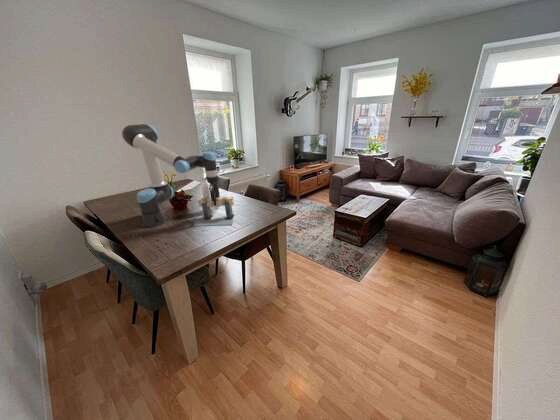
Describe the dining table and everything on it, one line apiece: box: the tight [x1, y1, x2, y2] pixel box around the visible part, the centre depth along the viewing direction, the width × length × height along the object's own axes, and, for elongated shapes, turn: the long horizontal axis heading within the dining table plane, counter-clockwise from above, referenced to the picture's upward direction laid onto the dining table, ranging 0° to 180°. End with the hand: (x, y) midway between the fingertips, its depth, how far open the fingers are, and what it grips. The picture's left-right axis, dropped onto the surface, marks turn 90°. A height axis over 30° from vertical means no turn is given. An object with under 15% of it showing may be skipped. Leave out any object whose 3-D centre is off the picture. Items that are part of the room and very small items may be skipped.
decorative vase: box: [201, 178, 220, 215], centre depth 167 cm, size 11×11×25 cm
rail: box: [197, 196, 235, 208], centre depth 156 cm, size 24×4×5 cm, turn 89°
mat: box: [193, 219, 234, 227], centre depth 152 cm, size 26×7×1 cm, turn 89°
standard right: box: [224, 203, 235, 220], centre depth 158 cm, size 5×7×12 cm
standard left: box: [201, 203, 214, 221], centre depth 158 cm, size 5×7×12 cm
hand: (217, 208), depth 158 cm, fingers closed on rail, 4 cm apart
